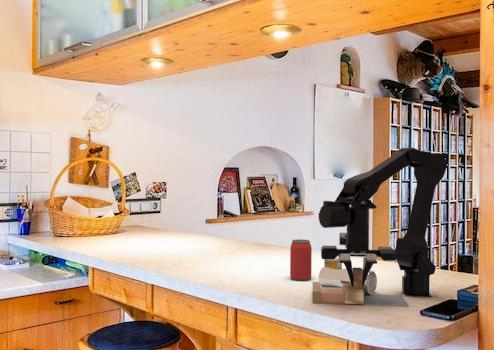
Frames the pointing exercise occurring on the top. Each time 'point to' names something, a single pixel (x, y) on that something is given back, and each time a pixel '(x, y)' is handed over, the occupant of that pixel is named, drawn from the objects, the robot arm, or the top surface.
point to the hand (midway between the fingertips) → (357, 286)
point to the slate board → (368, 299)
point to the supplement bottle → (333, 263)
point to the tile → (332, 295)
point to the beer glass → (345, 279)
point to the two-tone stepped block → (354, 289)
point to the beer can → (300, 260)
